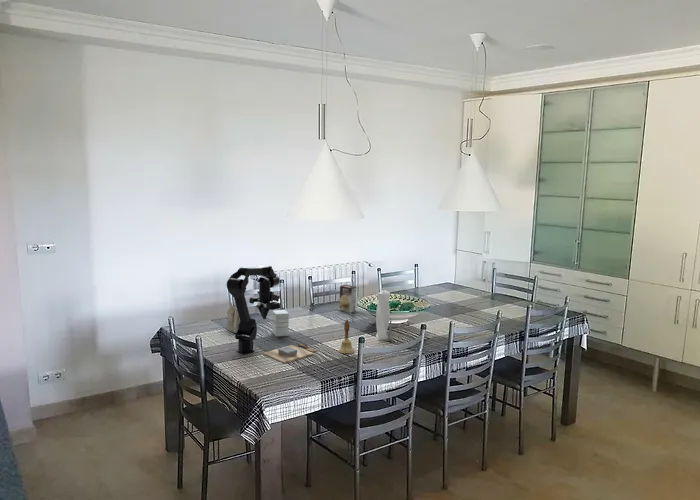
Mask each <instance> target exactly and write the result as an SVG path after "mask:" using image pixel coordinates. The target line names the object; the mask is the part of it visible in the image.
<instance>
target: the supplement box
mask: <svg viewBox="0 0 700 500" xmlns="http://www.w3.org/2000/svg"><path fill="white" fill-rule="evenodd" d="M289 316H290V313H289V312H288V311H287V310H286V309H279V310H278V309H274V310H272V331H271V332H272V334H273V335H274V336H275V337H288V336H289V324H290V322H289V321H290V320H289V319H290V317H289Z"/></svg>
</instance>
